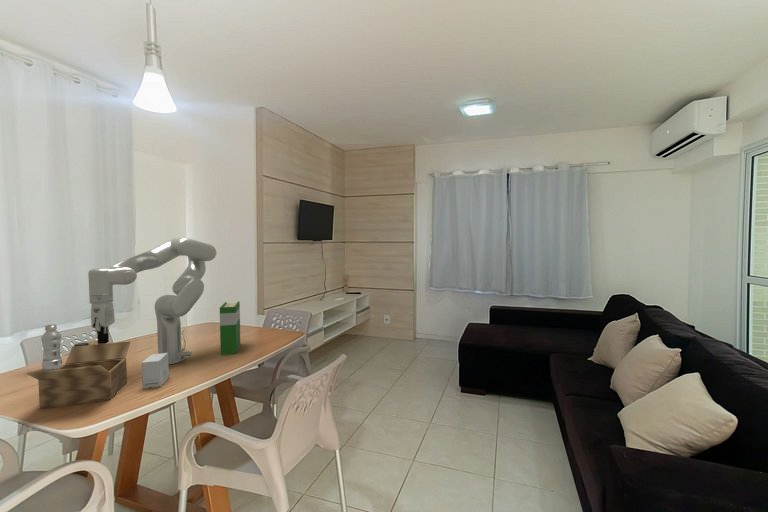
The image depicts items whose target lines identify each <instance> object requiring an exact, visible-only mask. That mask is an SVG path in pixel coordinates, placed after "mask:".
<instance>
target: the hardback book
mask: <svg viewBox="0 0 768 512" xmlns="http://www.w3.org/2000/svg"><path fill="white" fill-rule="evenodd" d="M240 306H241V302H240V301H237V302H232V303H231V302H229V303H228V302H227V301H226V302H223V304H222V305H221V306H220V307H219V338H220V339H219V340H220V341H219V343H220V346H219V347H220V356H227V355H237V354H238V352H239V350H240V346H241V312H240V311H241V310H240V309H241V307H240Z"/></svg>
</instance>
